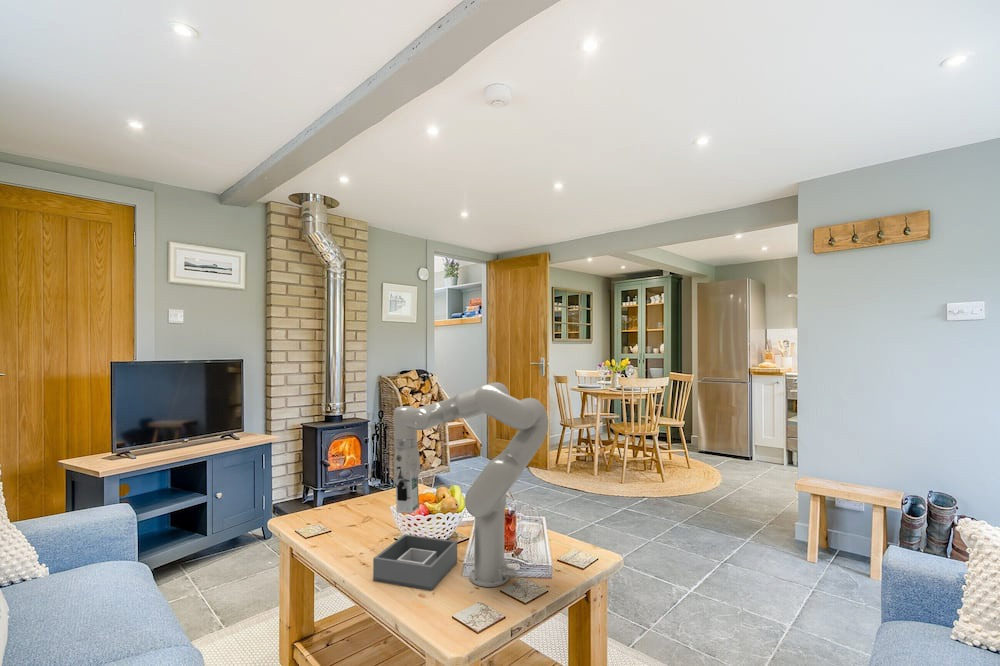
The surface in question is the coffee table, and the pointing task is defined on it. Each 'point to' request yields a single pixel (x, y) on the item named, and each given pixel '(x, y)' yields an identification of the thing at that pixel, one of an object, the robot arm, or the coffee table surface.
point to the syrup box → (409, 497)
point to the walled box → (415, 562)
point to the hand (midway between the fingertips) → (407, 496)
